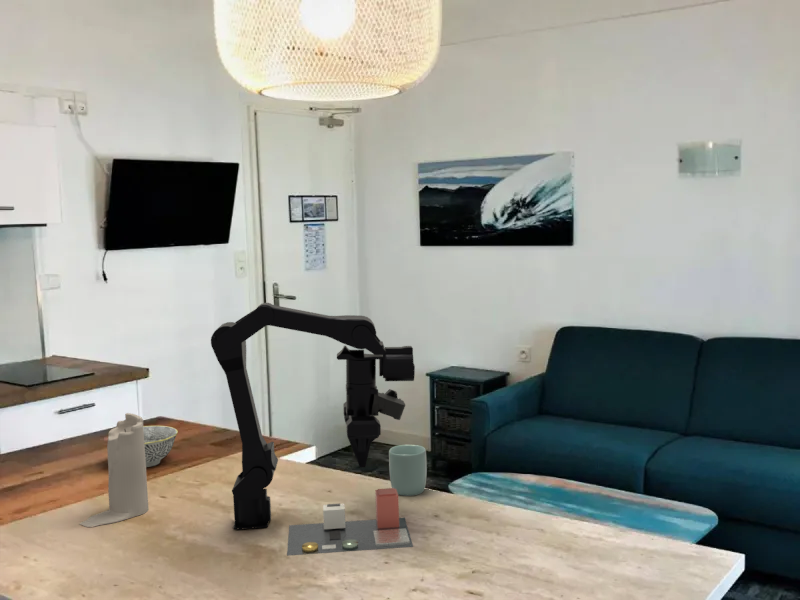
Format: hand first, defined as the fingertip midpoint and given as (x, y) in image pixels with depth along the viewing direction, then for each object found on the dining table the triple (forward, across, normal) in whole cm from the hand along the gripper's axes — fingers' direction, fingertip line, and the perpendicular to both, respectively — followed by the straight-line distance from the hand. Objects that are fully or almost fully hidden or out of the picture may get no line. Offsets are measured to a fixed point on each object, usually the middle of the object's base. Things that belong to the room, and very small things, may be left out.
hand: (361, 460), depth 163 cm
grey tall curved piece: (+14, +10, +49) cm, 52 cm away
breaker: (+10, -7, +5) cm, 14 cm away
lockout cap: (+10, -7, -5) cm, 13 cm away
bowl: (+14, +46, +50) cm, 69 cm away
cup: (+12, +11, -11) cm, 19 cm away
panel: (+12, -12, +3) cm, 17 cm away
